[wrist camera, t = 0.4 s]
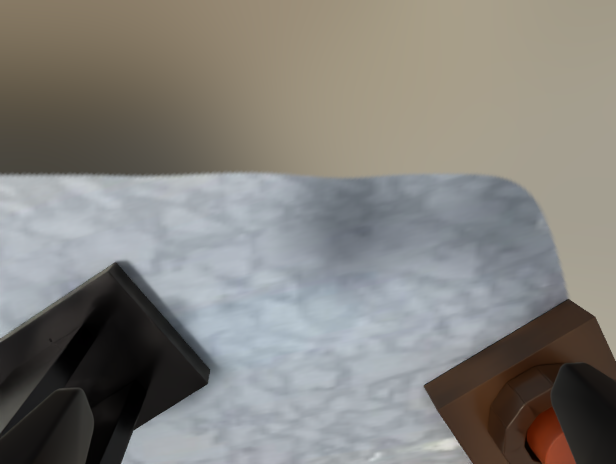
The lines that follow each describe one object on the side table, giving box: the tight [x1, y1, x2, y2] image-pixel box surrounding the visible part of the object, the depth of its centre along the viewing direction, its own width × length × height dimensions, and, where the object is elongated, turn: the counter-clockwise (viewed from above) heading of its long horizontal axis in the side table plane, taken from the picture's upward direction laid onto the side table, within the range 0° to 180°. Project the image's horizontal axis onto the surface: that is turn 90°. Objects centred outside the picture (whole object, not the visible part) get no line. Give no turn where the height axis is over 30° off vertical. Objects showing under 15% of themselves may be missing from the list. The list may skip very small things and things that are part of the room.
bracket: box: [0, 262, 210, 464], centre depth 20 cm, size 10×8×10 cm
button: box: [527, 406, 576, 464], centre depth 24 cm, size 4×4×2 cm
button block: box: [424, 299, 616, 464], centre depth 26 cm, size 10×8×4 cm
